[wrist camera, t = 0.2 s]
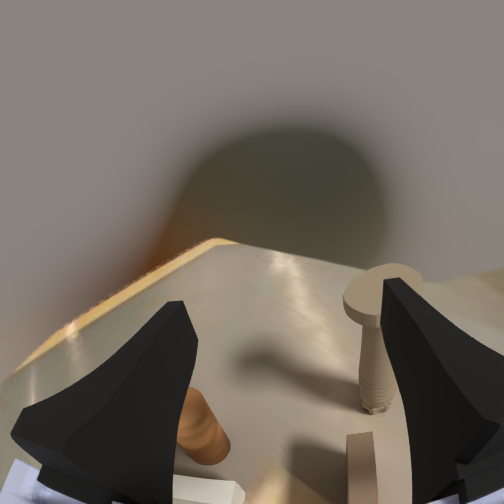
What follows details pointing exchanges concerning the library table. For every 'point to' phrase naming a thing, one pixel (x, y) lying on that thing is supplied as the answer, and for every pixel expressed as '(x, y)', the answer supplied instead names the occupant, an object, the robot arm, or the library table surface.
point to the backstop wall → (361, 469)
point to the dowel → (201, 431)
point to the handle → (375, 332)
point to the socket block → (206, 491)
